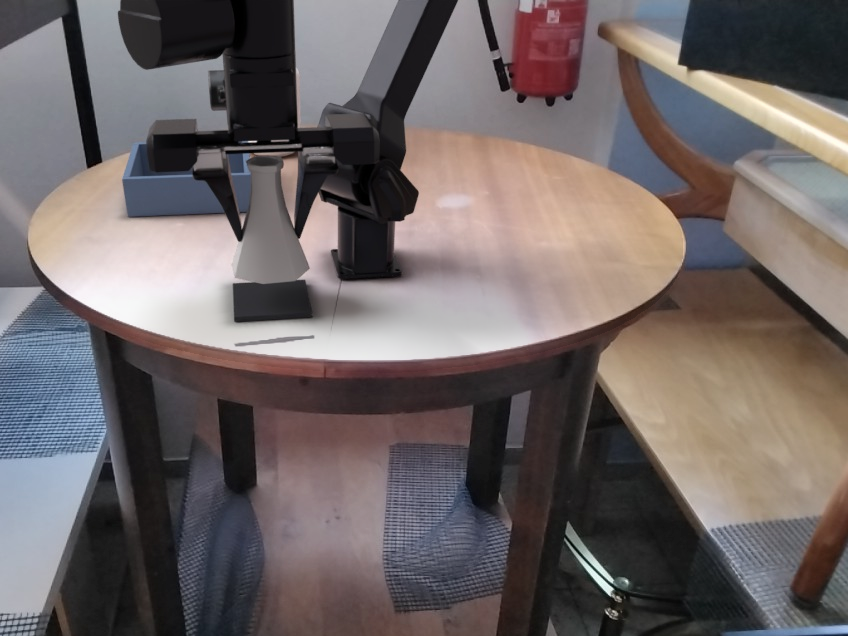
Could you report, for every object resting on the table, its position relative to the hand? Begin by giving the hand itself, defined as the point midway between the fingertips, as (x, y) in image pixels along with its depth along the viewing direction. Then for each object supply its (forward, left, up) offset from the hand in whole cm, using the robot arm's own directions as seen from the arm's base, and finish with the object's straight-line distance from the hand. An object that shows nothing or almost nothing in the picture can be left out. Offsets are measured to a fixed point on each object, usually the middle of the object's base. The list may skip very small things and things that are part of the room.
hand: (269, 238), depth 70 cm
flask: (0, 0, -3) cm, 3 cm away
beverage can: (+48, -3, -7) cm, 48 cm away
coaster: (0, 0, -6) cm, 6 cm away
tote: (+31, +8, -6) cm, 33 cm away
